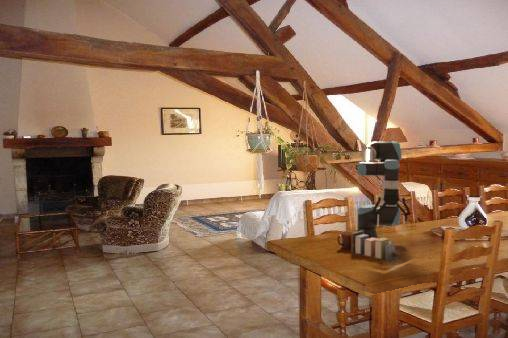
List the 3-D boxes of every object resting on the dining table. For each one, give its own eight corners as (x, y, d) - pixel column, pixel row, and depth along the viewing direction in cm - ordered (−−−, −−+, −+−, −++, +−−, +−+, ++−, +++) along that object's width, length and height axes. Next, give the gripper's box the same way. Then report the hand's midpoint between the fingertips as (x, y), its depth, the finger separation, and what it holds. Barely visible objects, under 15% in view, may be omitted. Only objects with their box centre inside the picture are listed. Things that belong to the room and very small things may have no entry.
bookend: (385, 259, 251) (385, 245, 250) (392, 256, 256) (393, 242, 256) (391, 261, 248) (391, 246, 248) (398, 258, 254) (398, 243, 253)
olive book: (374, 257, 256) (375, 240, 255) (382, 254, 261) (382, 237, 260) (381, 259, 253) (381, 241, 252) (388, 256, 258) (389, 238, 257)
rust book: (364, 255, 260) (364, 239, 260) (372, 252, 266) (372, 237, 265) (371, 256, 257) (371, 241, 256) (378, 254, 263) (379, 238, 262)
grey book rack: (350, 255, 266) (351, 233, 265) (361, 251, 273) (361, 230, 272) (390, 264, 248) (390, 240, 247) (400, 260, 255) (400, 237, 254)
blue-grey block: (354, 253, 265) (355, 236, 264) (362, 250, 270) (362, 233, 270) (360, 254, 262) (361, 237, 261) (368, 251, 267) (368, 235, 267)
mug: (348, 247, 284) (348, 231, 283) (358, 250, 276) (358, 233, 275) (333, 249, 279) (333, 233, 278) (342, 253, 271) (342, 236, 270)
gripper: (368, 188, 248) (367, 227, 250) (416, 189, 243) (415, 229, 245) (367, 187, 255) (367, 224, 257) (414, 187, 250) (413, 226, 252)
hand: (390, 226), depth 251 cm, fingers open, 13 cm apart
